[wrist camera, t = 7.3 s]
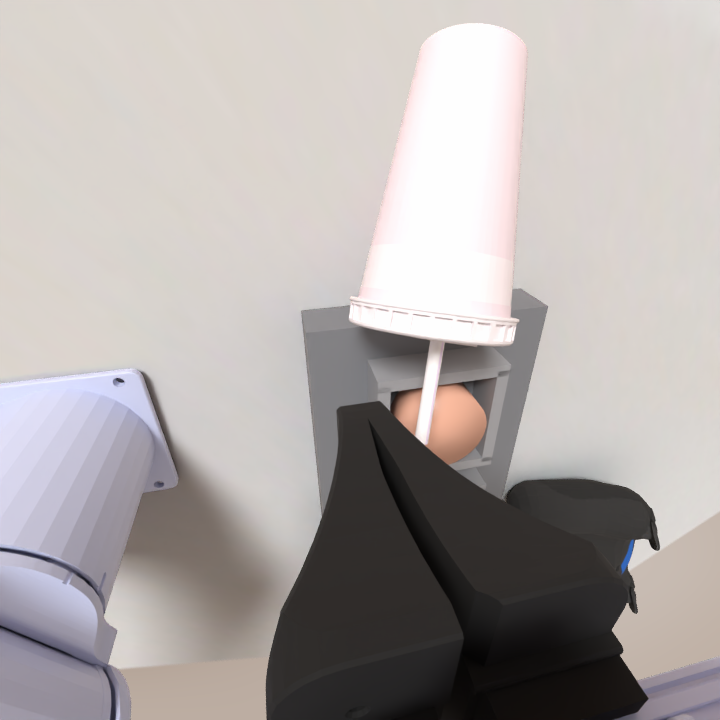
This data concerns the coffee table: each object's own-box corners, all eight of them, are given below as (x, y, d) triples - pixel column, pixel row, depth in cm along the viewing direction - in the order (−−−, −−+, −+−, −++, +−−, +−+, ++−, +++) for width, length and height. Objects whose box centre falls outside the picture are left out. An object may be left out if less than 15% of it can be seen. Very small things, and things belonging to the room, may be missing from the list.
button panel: (330, 599, 33) (339, 660, 30) (301, 310, 20) (310, 354, 16) (465, 568, 35) (489, 622, 32) (520, 288, 22) (574, 323, 18)
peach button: (388, 446, 22) (398, 474, 20) (389, 379, 20) (401, 403, 18) (463, 434, 23) (479, 459, 21) (473, 368, 20) (492, 390, 19)
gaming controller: (509, 562, 41) (622, 584, 38) (506, 621, 37) (635, 652, 33) (508, 448, 32) (657, 462, 29) (505, 509, 28) (680, 534, 24)
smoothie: (607, 67, 14) (525, 456, 16) (458, 116, 19) (412, 407, 21) (497, -53, 10) (409, 488, 12) (344, 50, 15) (303, 418, 17)
